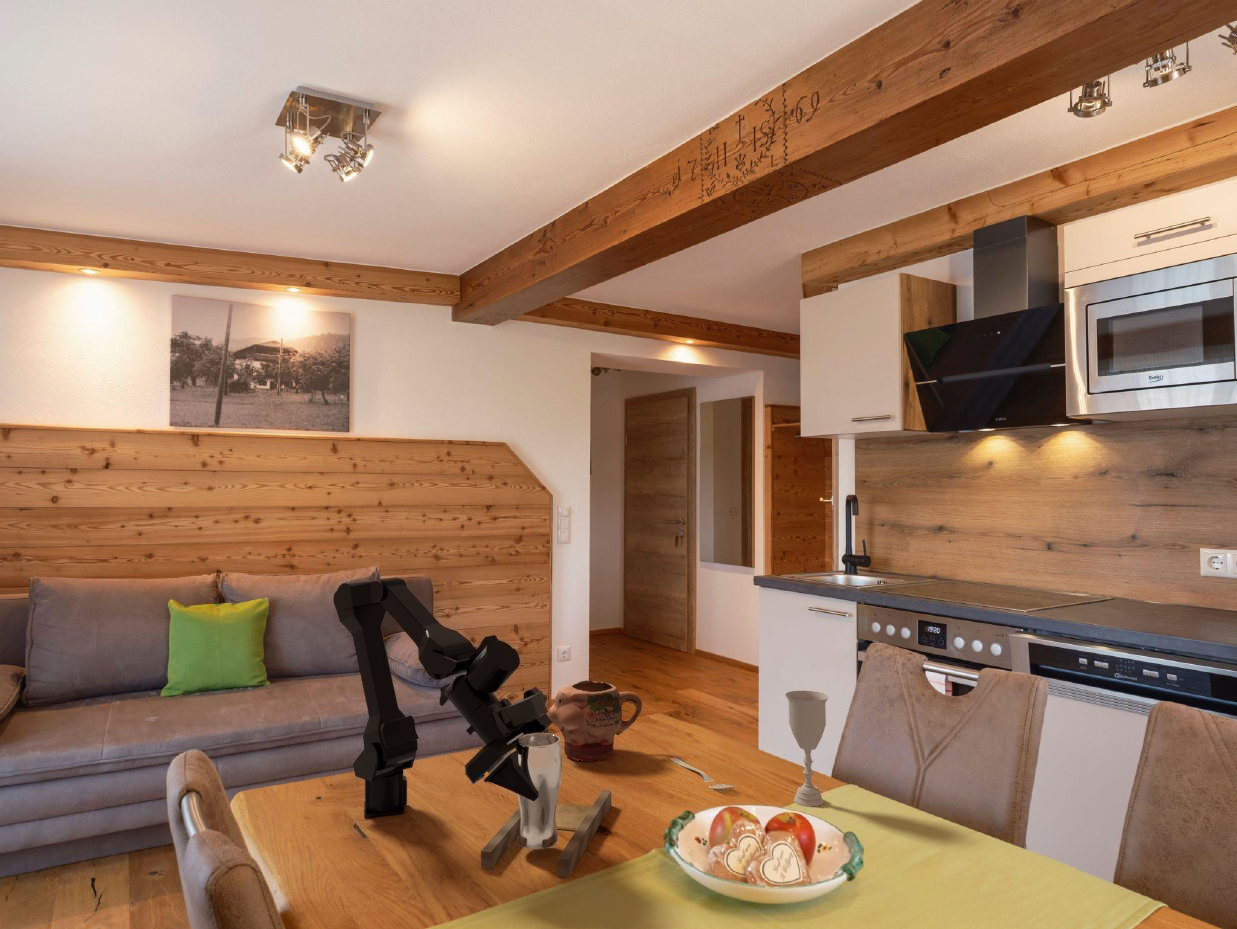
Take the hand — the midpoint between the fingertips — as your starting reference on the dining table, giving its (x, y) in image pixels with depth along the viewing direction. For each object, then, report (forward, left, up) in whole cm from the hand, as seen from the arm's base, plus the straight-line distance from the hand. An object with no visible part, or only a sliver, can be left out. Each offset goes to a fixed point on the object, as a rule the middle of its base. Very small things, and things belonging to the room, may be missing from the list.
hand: (546, 790), depth 119 cm
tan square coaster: (+5, +12, -9) cm, 16 cm away
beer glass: (-1, +1, -8) cm, 8 cm away
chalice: (+47, +5, -9) cm, 48 cm away
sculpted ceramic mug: (+19, +41, -10) cm, 47 cm away
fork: (+34, +24, -10) cm, 43 cm away
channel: (+2, +6, -9) cm, 11 cm away
